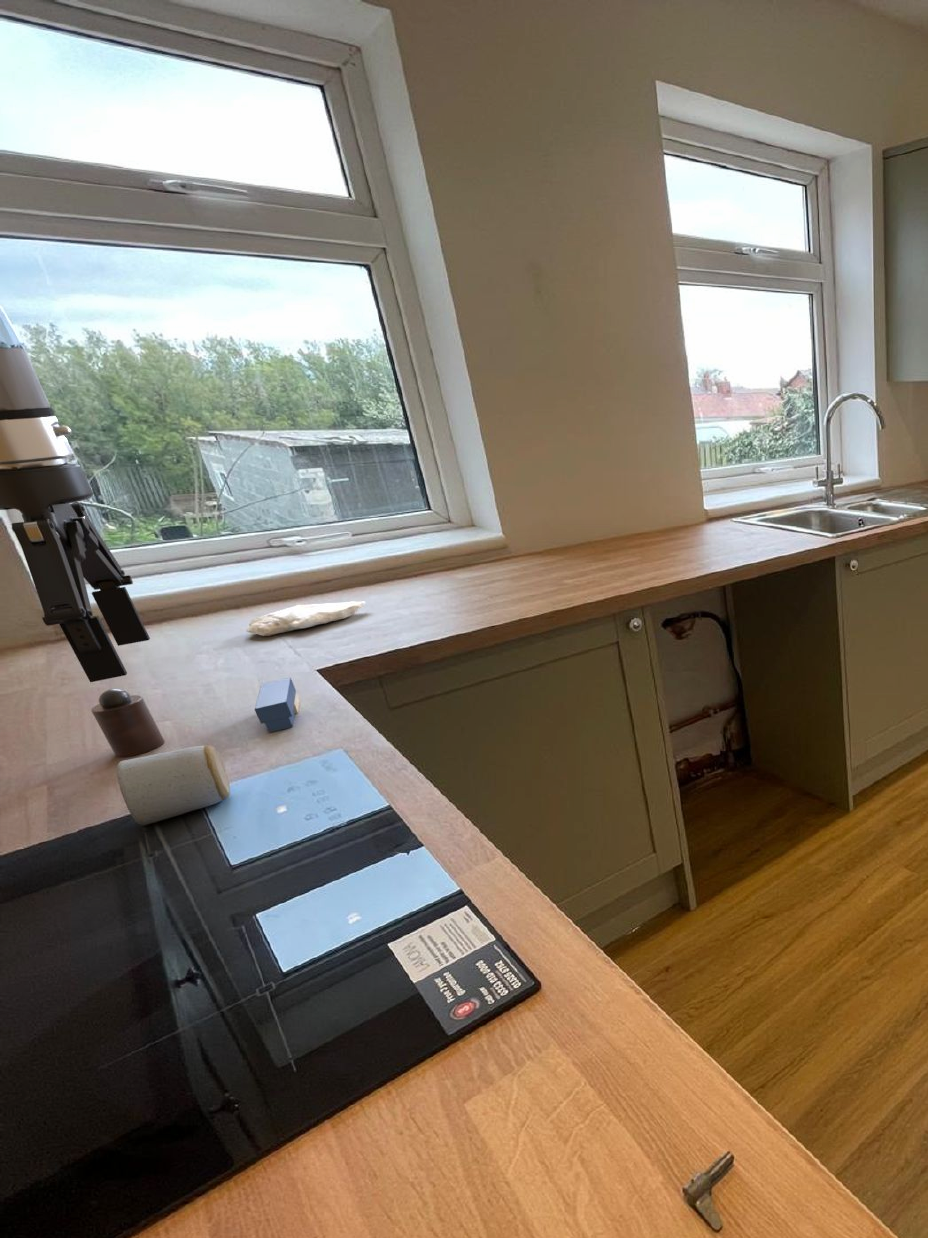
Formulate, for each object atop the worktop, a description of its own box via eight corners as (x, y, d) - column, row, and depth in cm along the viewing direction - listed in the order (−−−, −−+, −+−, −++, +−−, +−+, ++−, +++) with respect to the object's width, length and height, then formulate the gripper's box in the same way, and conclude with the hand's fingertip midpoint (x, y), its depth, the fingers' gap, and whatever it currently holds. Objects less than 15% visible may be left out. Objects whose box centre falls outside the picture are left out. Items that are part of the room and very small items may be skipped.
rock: (248, 628, 146) (364, 606, 158) (249, 646, 136) (373, 620, 148) (241, 611, 144) (359, 589, 156) (242, 627, 135) (367, 603, 147)
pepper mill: (111, 761, 97) (78, 701, 93) (120, 746, 100) (89, 688, 97) (161, 749, 99) (131, 690, 96) (167, 735, 103) (139, 678, 99)
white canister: (236, 807, 85) (209, 750, 82) (141, 837, 80) (108, 778, 77) (234, 774, 92) (209, 721, 89) (147, 800, 87) (118, 744, 84)
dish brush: (296, 726, 104) (286, 701, 102) (265, 734, 102) (254, 708, 100) (300, 700, 112) (290, 677, 111) (271, 707, 110) (261, 683, 109)
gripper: (41, 471, 64) (147, 684, 73) (103, 451, 83) (182, 622, 92) (-86, 482, 61) (42, 706, 69) (10, 458, 79) (101, 637, 88)
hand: (122, 659), depth 80 cm, fingers open, 13 cm apart
